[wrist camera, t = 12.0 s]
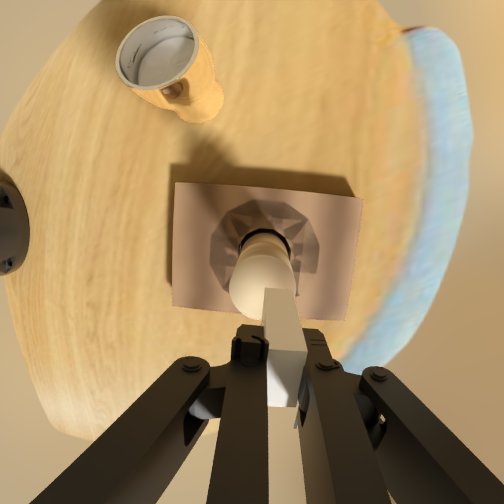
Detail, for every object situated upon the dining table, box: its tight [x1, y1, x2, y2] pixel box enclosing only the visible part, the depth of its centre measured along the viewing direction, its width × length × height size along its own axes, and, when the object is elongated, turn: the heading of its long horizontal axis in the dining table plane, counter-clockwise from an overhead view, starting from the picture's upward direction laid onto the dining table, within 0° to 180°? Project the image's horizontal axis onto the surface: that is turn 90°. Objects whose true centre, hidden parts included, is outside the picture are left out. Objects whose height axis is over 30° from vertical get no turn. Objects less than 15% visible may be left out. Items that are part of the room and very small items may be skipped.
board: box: [172, 182, 363, 321], centre depth 34 cm, size 20×14×3 cm
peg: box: [229, 231, 296, 320], centre depth 29 cm, size 5×5×14 cm
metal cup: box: [115, 15, 224, 123], centre depth 25 cm, size 7×7×15 cm
